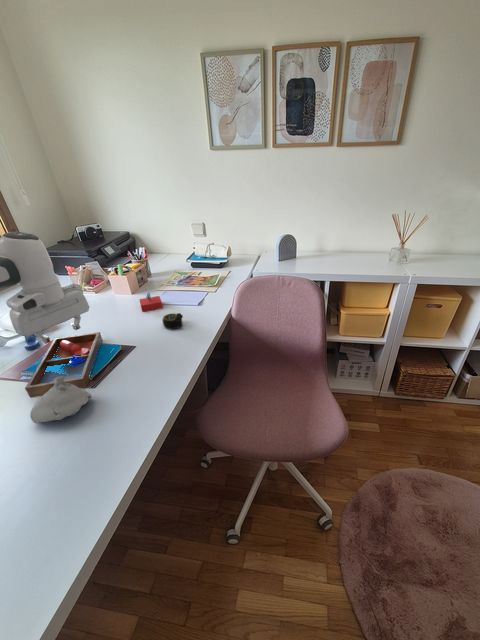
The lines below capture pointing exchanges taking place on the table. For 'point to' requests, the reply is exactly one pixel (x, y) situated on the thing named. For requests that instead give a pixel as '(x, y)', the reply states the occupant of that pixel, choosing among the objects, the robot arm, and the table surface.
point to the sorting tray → (45, 382)
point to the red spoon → (73, 348)
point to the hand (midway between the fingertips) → (62, 335)
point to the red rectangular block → (150, 303)
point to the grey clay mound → (59, 402)
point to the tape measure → (172, 320)
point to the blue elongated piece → (31, 343)
